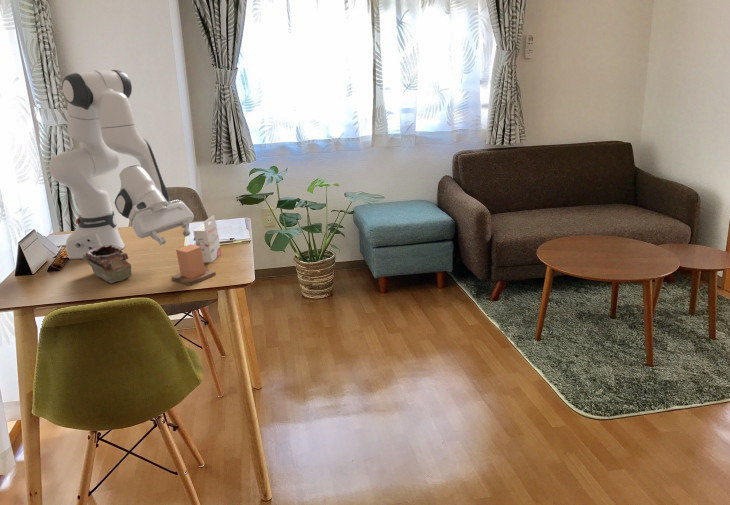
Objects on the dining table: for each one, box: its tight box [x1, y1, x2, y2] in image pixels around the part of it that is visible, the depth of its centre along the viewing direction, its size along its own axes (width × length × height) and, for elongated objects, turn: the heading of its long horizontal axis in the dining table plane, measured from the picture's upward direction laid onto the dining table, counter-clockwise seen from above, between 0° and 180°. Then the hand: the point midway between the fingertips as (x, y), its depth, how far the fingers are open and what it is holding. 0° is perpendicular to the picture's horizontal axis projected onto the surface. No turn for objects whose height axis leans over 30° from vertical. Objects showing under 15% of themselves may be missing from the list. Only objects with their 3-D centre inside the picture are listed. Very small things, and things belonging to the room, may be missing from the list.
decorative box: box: [82, 245, 132, 285], centre depth 209 cm, size 13×20×10 cm, turn 38°
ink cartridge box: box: [192, 215, 222, 263], centre depth 218 cm, size 9×5×15 cm, turn 168°
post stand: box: [171, 268, 217, 286], centre depth 203 cm, size 10×10×8 cm
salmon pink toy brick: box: [175, 244, 206, 279], centre depth 202 cm, size 6×6×9 cm
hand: (175, 239), depth 203 cm, fingers open, 8 cm apart
